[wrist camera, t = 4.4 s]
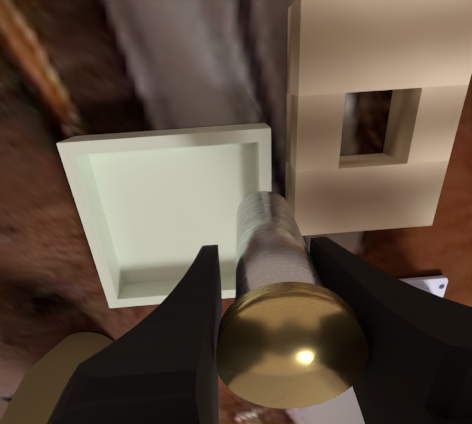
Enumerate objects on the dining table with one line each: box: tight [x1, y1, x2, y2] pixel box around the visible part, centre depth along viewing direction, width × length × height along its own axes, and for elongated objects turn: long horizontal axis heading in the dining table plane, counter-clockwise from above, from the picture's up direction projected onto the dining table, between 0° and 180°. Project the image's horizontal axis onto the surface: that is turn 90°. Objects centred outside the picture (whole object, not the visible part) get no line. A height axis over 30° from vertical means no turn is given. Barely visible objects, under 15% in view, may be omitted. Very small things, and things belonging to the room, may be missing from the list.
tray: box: [56, 123, 272, 308], centre depth 21 cm, size 13×13×2 cm
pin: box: [216, 191, 369, 408], centre depth 11 cm, size 4×4×9 cm
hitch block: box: [285, 0, 472, 236], centre depth 19 cm, size 14×10×3 cm
